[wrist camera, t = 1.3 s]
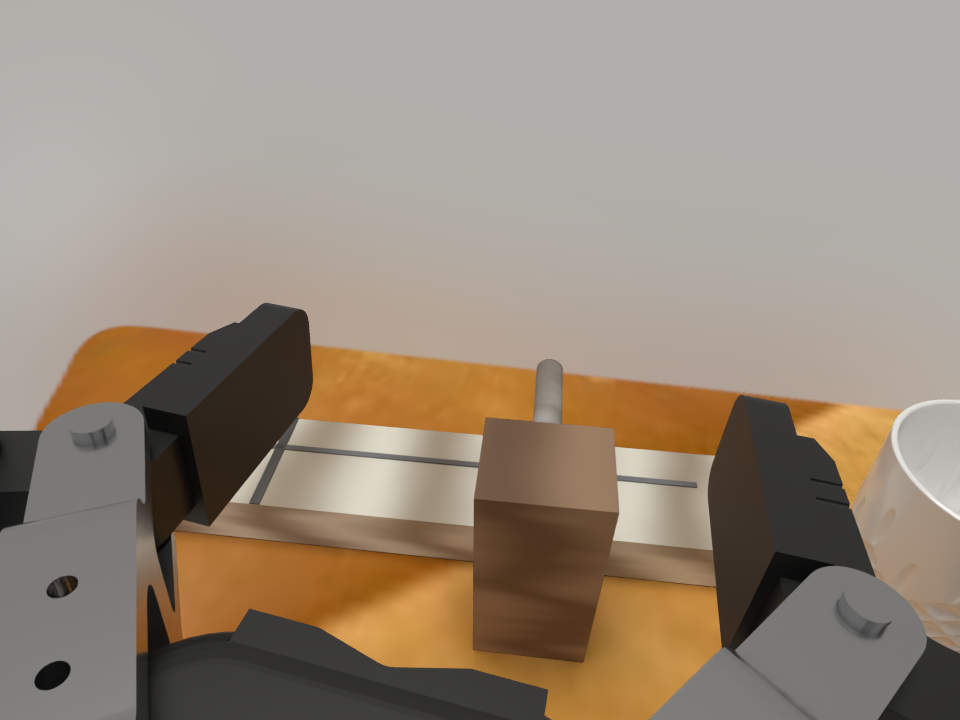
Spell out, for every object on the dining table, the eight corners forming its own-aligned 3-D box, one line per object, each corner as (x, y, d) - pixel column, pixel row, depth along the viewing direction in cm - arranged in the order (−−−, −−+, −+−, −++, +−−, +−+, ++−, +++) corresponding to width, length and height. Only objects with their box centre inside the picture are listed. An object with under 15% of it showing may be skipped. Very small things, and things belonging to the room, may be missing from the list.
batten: (714, 492, 36) (729, 455, 34) (735, 588, 32) (753, 552, 30) (206, 445, 39) (192, 408, 37) (157, 528, 34) (138, 491, 32)
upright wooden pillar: (581, 501, 36) (608, 348, 29) (582, 662, 29) (619, 512, 22) (492, 493, 36) (497, 339, 29) (473, 649, 29) (473, 498, 22)
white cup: (902, 714, 27) (1036, 589, 21) (774, 562, 33) (848, 426, 26) (1028, 647, 30) (1183, 516, 23) (888, 516, 35) (981, 380, 29)
